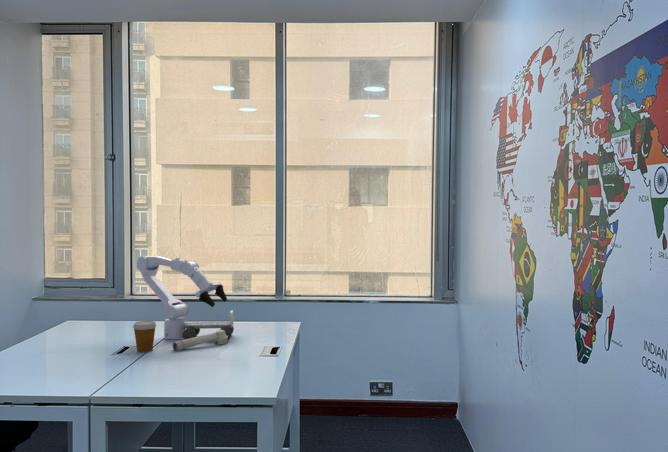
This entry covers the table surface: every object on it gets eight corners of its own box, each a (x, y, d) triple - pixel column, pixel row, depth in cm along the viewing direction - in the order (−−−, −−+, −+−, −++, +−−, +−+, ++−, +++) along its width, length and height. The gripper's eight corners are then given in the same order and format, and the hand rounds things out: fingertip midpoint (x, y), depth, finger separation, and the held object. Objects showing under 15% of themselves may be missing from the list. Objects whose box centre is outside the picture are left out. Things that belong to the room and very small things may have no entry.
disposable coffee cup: (149, 354, 237) (149, 325, 237) (128, 352, 239) (128, 324, 238) (160, 348, 246) (160, 321, 246) (140, 347, 248) (140, 320, 248)
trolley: (182, 341, 259) (182, 314, 259) (187, 335, 272) (187, 309, 271) (231, 341, 261) (231, 313, 261) (233, 335, 274) (233, 309, 273)
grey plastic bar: (171, 341, 244) (223, 326, 260) (173, 356, 245) (225, 340, 260) (176, 343, 240) (228, 327, 256) (178, 358, 241) (230, 342, 256)
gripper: (192, 280, 254) (211, 302, 250) (216, 271, 265) (234, 292, 261) (187, 290, 257) (205, 312, 253) (210, 281, 269) (228, 302, 265)
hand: (219, 302), depth 257 cm, fingers open, 7 cm apart
